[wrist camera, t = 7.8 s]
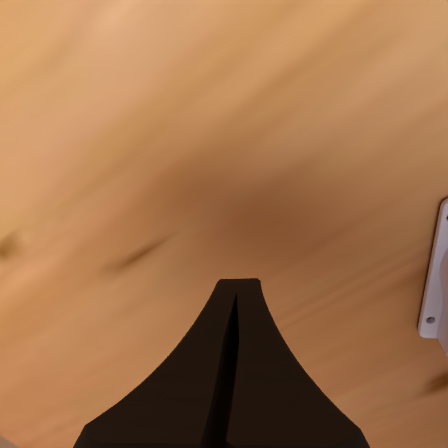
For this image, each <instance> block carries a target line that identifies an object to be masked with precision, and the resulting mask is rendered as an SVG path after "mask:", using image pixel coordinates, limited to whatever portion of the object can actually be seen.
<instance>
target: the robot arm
mask: <svg viewBox="0 0 448 448" xmlns="http://www.w3.org/2000/svg"><path fill="white" fill-rule="evenodd" d="M447 215H448V199H446V200H444V201H443V202H442V204H441V206H440V212H439V217H438V222H437V228H436V233H435V238H434V244H433V249H432V254H431V260H430V265H429V270H428V276H427V281H426V287H425V292H424V297H423V303H422V308H421V313H420V319H419V324H418V333H419V335H420V336H421V337H423V338H437V339H438V341H439V343H440V345H441V347H442V349H443V351H444V352H445V354H446V356H447V358H448V219H447V218H446V217H447ZM429 317H432V318H430V319H427V318H429ZM73 448H370V446H369V444H368V442H367V441H366V439H365V437H364V435H363V433H362V431H361V429H360V428H359V427H358V426H356V425H355V424H354V423H353V422H352V421H351V420H350V419H349V418H348V417H347V416H346V415H344V414H343V413H342V412H341V411H340V410H339V409H338V408H337V407H336V406H335V405H334V404H333V403H332V402H331V400H330V399H329V398H328V397H327V396H326V395H325V394H324V393H323V392H322V391H321V390H320V388H319V387H318V386H317V385H316V384H315V382H314V381H313V380H312V379H311V378H310V377H309V375H308V374H307V373H306V372H305V370H304V369H303V368H302V366H301V365H300V364H299V362H298V361H297V359H296V358H295V356H294V355H293V354H292V352H291V351H290V349H289V347H288V346H287V344H286V343H285V341H284V339H283V337H282V336H281V334H280V332H279V330H278V328H277V326H276V325H275V323H274V320H273V318H272V316H271V314H270V312H269V310H268V307H267V305H266V302H265V299H264V296H263V293H262V289H261V281H260V280H259V279H257V278H250V279H220V280H219V281H218V282H217V284H216V286H215V288H214V290H213V292H212V294H211V296H210V298H209V300H208V301H207V303H206V305H205V307H204V308H203V310H202V311H201V313H200V315H199V316H198V318H197V319H196V321H195V322H194V324H193V325H192V327H191V328H190V329H189V331H188V332H187V333H186V335H185V336H184V337H183V339H182V340H181V341H180V343H179V344H178V345H177V346H176V348H175V349H174V350H173V351H172V352H171V353H170V355H169V356H168V357H167V358H166V359H165V360H164V361H163V362H162V363H161V364H160V365H159V366H158V367H157V368H156V369H155V370H154V371H153V372H152V374H151V375H149V376H148V377H147V378H146V379H145V380H144V381H143V382H142V383H141V384H140V385H139V386H137V387H136V388H135V389H134V390H133V391H131V392H130V393H129V394H128V395H127V396H125V397H124V398H123V399H122V400H121V401H119V402H118V403H117V404H115V405H114V406H113V407H111V408H110V409H108V410H107V411H105V412H104V413H103V414H101V415H100V416H98V417H97V418H95V419H94V420H92V421H91V422H89V423H88V424H86V425H85V426H84V428H83V430H82V432H81V434H80V436H79V437H78V439H77V441H76V443H75V445H74V447H73Z"/></svg>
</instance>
